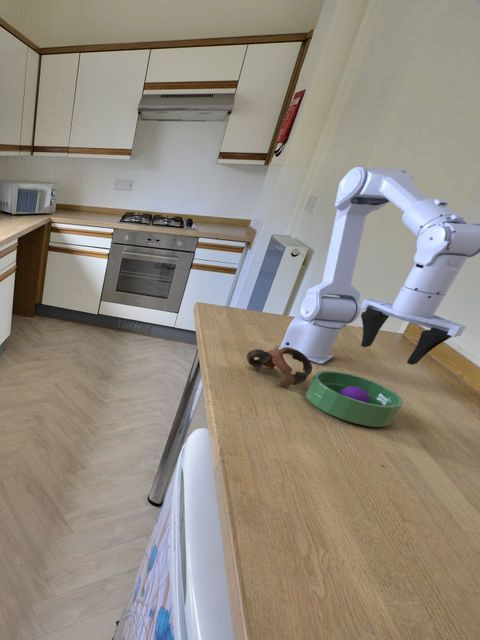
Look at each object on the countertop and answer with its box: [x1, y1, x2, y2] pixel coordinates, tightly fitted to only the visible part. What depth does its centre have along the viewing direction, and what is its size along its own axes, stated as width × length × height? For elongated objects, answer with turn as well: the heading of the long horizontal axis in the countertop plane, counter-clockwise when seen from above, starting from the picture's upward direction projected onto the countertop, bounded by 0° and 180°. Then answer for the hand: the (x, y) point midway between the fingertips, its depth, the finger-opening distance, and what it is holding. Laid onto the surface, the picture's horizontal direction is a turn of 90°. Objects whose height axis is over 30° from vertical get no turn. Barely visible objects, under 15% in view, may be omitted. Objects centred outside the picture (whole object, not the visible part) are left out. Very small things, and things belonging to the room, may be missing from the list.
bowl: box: [305, 370, 404, 428], centre depth 81 cm, size 13×13×5 cm
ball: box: [339, 387, 370, 403], centre depth 80 cm, size 4×4×4 cm
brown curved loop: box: [246, 347, 313, 388], centre depth 91 cm, size 12×10×8 cm
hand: (387, 354), depth 82 cm, fingers open, 7 cm apart
